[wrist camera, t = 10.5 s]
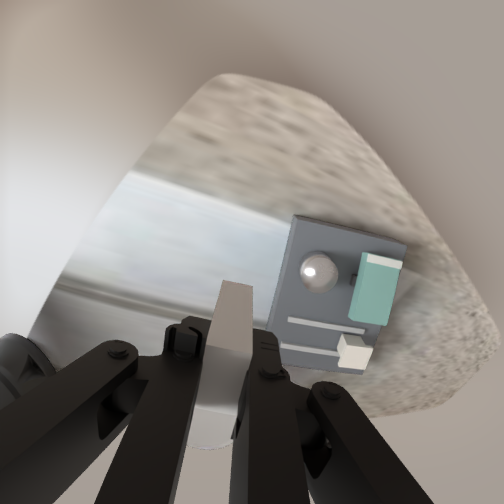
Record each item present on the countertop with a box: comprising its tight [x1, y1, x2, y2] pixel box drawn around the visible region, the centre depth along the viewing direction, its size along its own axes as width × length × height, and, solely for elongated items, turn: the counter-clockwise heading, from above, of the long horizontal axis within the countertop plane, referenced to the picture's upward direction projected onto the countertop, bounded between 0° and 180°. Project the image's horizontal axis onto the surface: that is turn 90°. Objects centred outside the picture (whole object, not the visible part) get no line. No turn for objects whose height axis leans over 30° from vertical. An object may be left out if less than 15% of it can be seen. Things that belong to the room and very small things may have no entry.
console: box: [266, 215, 407, 375], centre depth 37 cm, size 13×17×5 cm
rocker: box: [348, 252, 403, 326], centre depth 32 cm, size 4×7×2 cm, turn 168°
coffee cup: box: [186, 408, 238, 450], centre depth 36 cm, size 9×9×12 cm
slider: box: [337, 334, 373, 370], centre depth 34 cm, size 3×3×4 cm
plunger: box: [298, 251, 338, 293], centre depth 32 cm, size 4×4×3 cm
